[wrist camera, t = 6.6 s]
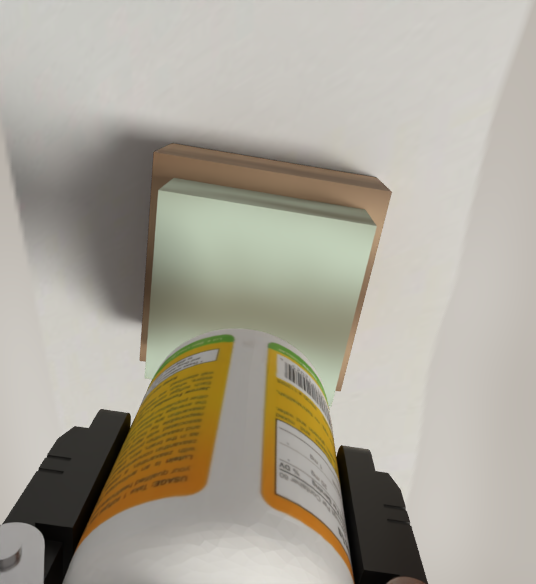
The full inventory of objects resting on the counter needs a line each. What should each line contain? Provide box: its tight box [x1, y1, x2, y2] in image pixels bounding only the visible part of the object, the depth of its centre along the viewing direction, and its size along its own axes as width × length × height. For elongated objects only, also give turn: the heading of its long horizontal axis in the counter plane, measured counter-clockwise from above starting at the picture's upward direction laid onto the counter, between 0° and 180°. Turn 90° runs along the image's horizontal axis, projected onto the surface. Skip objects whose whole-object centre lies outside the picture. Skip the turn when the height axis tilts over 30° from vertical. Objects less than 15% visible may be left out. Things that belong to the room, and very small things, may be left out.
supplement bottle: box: [62, 329, 355, 584], centre depth 10 cm, size 5×5×10 cm
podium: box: [140, 143, 392, 406], centre depth 25 cm, size 11×11×7 cm
